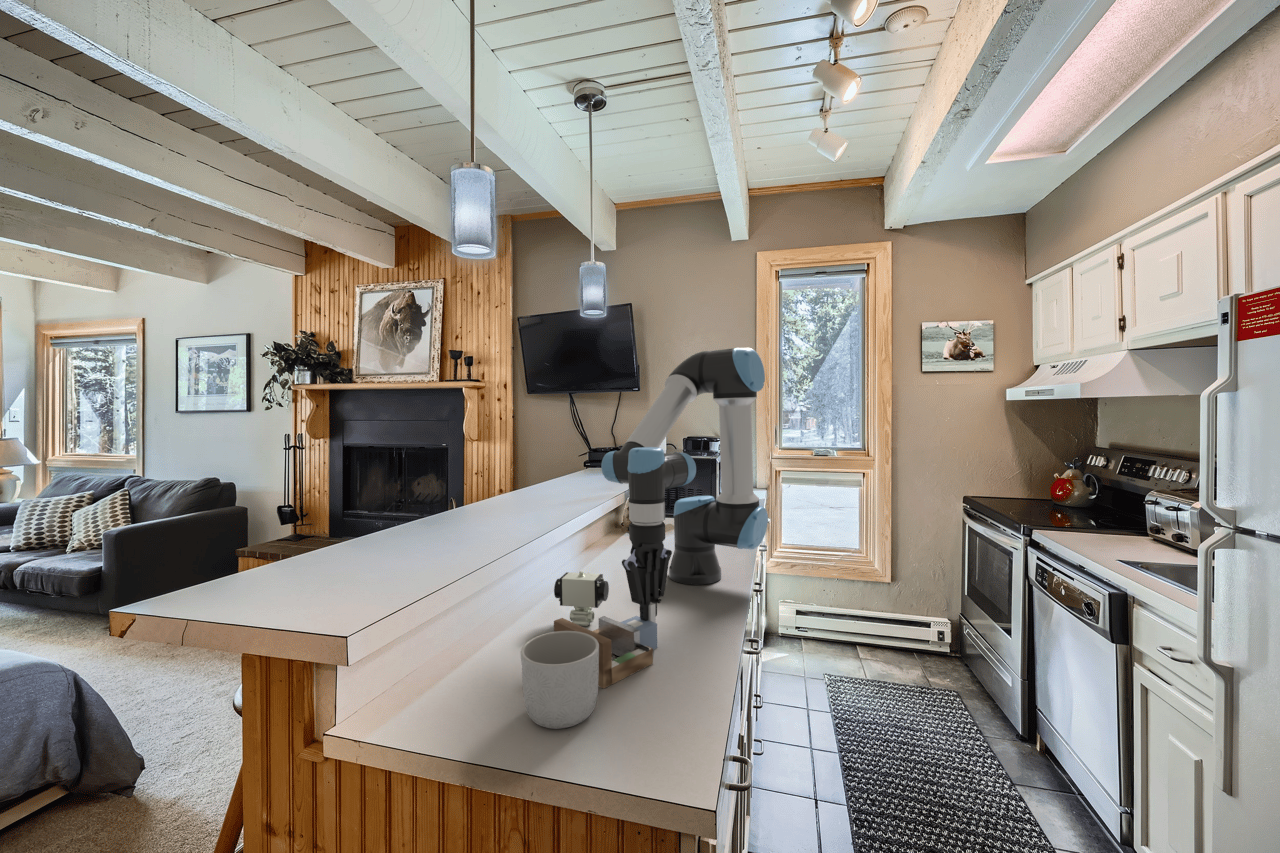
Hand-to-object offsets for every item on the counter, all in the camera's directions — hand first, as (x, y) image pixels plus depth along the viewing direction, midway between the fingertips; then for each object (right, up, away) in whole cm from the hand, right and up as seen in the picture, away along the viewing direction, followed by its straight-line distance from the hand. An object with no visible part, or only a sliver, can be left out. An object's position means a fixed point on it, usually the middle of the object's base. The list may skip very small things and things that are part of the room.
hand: (648, 633), depth 110 cm
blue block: (-3, -2, -3) cm, 5 cm away
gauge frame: (-9, -2, -9) cm, 12 cm away
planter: (-14, -3, -25) cm, 29 cm away
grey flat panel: (-5, -2, -7) cm, 9 cm away
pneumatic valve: (-15, -2, +11) cm, 18 cm away
